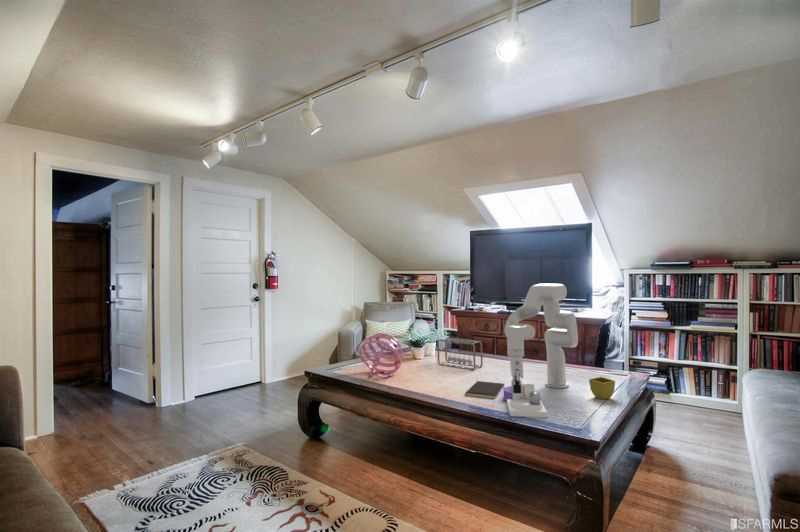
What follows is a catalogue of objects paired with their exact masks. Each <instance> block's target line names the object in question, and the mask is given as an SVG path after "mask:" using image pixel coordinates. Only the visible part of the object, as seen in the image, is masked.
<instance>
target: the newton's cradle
mask: <svg viewBox="0 0 800 532" xmlns="http://www.w3.org/2000/svg"><path fill="white" fill-rule="evenodd" d="M440 342H444V350H445V354H444V355H445V362H447V361H452V362H458V363H463V364H469V365H474V366H473V367H469V365H468V367H466V366H463V367H464V368H469V369H474V370H476V367H475V366H478V367H477V368H482V367H483V365H484V364H483V343H482V342H481V340H473V339H465V338H458V337H457V338H455V337H445V338H443V339H438V340H437V363H438V364H439V363H442V364H444V362H441V361H440ZM449 343H451V344H449ZM477 343H479V344H480V365H478V364H476V345H475V344H477ZM453 344H456V345H459V344H460V345H461V347H464V346H463V345H465V347H464V349H466V347H467V348H469V347H470V348H469V349H470V351H471V346H472V347H473V349H472V350H473V351H472V352H473V359H472V358H471V357H468V358H466V357H461V356H458V357H457V356H456V354H457V353H456V350H455V349H454V346H453ZM447 345H448V346H449V345H450V346H451V347H452V346H453V348H452V349H453V350H454V354H453V355H454V356H452V354H451V350H449V351H448V349H447V348H448V347H447ZM466 345H467V346H466ZM468 345H470V346H469V347H468ZM461 347H459V349H460V352H462V353H463V355H465V351H461ZM459 349H457V350H458V353H460V352H459ZM470 351H467V353H468V354H470ZM448 352H449V356H448ZM446 364H447V365H450V364H448V363H446ZM451 365H452V366H456V364H451ZM457 366H458V367H462V366H460V365H457ZM479 366H480V367H479ZM469 369H468V370H469Z"/></svg>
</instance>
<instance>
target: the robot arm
mask: <svg viewBox="0 0 800 532" xmlns="http://www.w3.org/2000/svg"><path fill="white" fill-rule="evenodd" d="M567 292H568V290H567V287H566V285H564V284H562V283H538V284H533V285H532V286H530V288H529V289H528V292H527V294H526V297H525V299H524V301H523V305H521V306H519V308H516V309H515V310H514V311H513V312H511V314H510V315H509V317H507V320H506V322H505V325H504V330H503V331H504V334H505V336H506V346H507V347H506V349H507V350H506V352H507V357H508V356H509V364H510V366H509V367H510V374H511V377H512V380H514V384H513V387H514V393H521V384H520V381H521V379H523V378H524V364H523V363H524V362H523V358H524V357H525V341H530V340H532V339H533V338H534V337H535V335H536V328H535V327H534V325H532V324H529V323H520V322H521V321H523V320H525V319H530V318H533V317H536V316H537V315H538V314H539V313H540V312H541V308H542V307H543V314H544V315H543V316H544V323H545V324H546V326H547V327H549V329H546V331H544V335H543V336H544V343H545V347H546V368H547V369H546V370H547V371H546V373H547V375H546V376H547V380H546V381H544V385H545V386H546V387H549V388H553V389H567V388H569V387H570V384H569V383H568V382H567V378H566V376H567V375H566V355H565V351H564V349H563V348H571V349H573V348H576V347H577V346H578V344H579V334H578V333H579V332H578V324H577V323H578V322H577V318H576V315H575V314H574V312H572V311H571V310H570V311H568V310H561V307H560V306H561V305H560V302H559V301H563V300H565V298H566V297H567V294H568V293H567ZM562 347H563V348H562Z"/></svg>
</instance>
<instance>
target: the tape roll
mask: <svg viewBox="0 0 800 532" xmlns="http://www.w3.org/2000/svg"><path fill="white" fill-rule="evenodd" d="M502 391H503V400H504V399H505V400H504V401H506V400H507V399H512V400H513V393H512V385H510V386H509V385H508V386H504V387H503V389H502Z"/></svg>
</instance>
